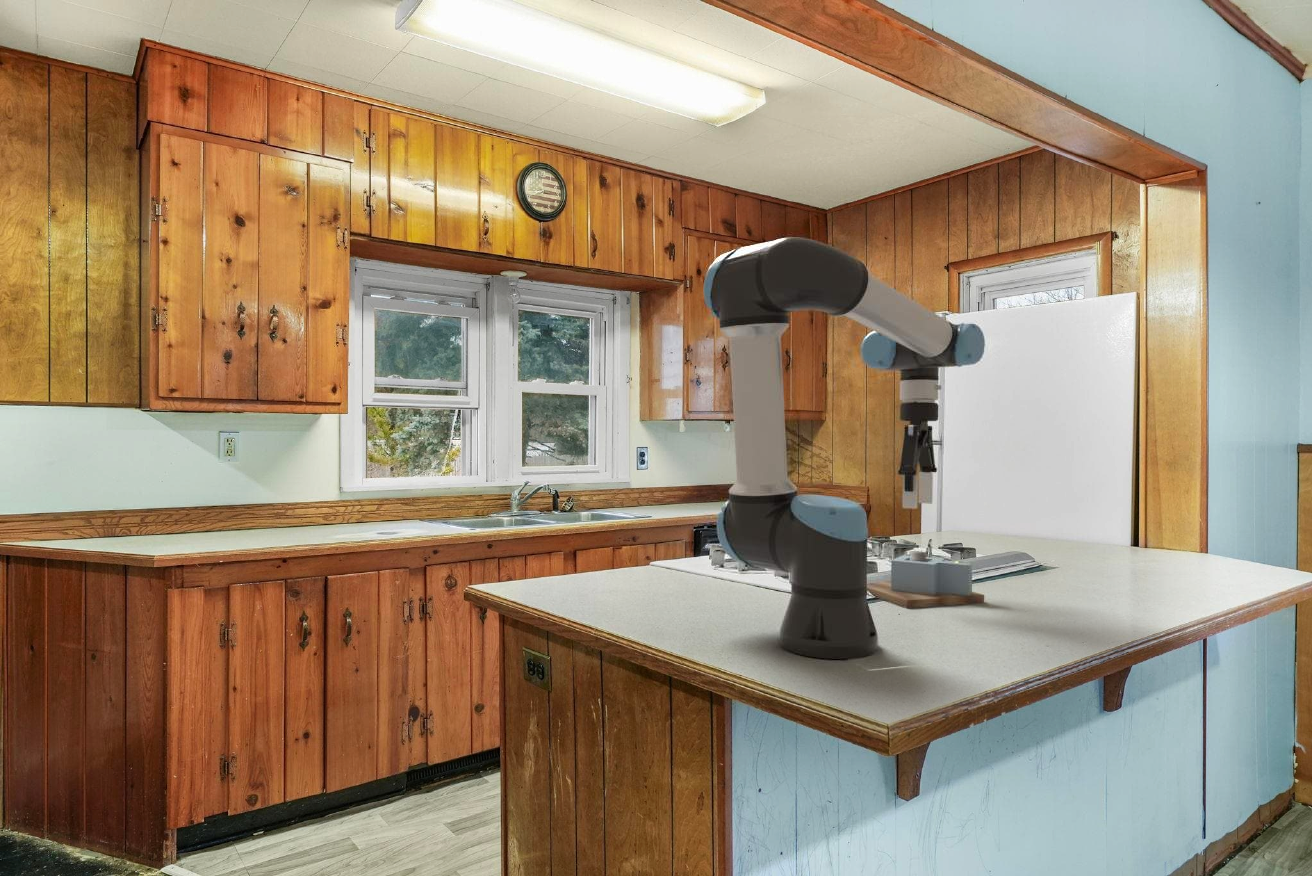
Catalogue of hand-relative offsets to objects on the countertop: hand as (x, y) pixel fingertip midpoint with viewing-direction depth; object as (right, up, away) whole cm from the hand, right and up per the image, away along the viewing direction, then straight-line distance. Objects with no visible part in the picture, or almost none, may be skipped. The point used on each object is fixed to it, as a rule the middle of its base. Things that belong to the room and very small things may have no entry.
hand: (917, 505), depth 165 cm
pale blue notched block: (+3, -17, -2) cm, 17 cm away
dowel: (+8, -17, -2) cm, 19 cm away
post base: (0, -19, 0) cm, 19 cm away
